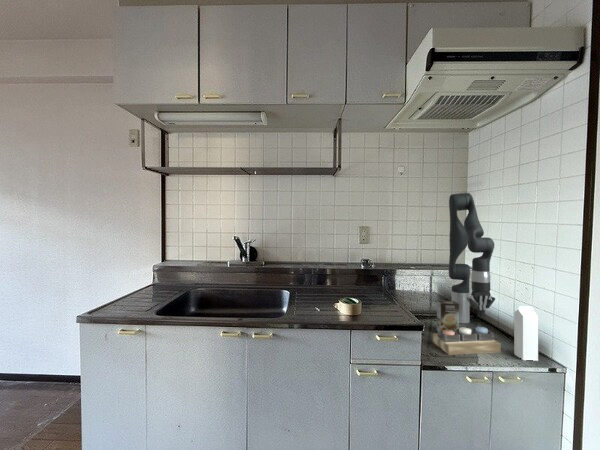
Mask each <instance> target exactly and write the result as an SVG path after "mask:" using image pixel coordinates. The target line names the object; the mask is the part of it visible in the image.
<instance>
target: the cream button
mask: <svg viewBox="0 0 600 450" xmlns="http://www.w3.org/2000/svg"><path fill="white" fill-rule="evenodd" d="M471 329H472V328H469V327H465V326H464V327H463V326H462V327H460V326H459V332H460V333H461V334H463V335H466V334H471Z"/></svg>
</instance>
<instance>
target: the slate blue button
mask: <svg viewBox="0 0 600 450" xmlns="http://www.w3.org/2000/svg"><path fill="white" fill-rule="evenodd" d="M474 329H475V331H476V332H477V333H479V334H488V331H489V330H488V328H487V327H483V326H475V327H474Z"/></svg>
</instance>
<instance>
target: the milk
mask: <svg viewBox="0 0 600 450" xmlns="http://www.w3.org/2000/svg"><path fill="white" fill-rule="evenodd" d="M513 314H514V315H513V316H514V317H513V318H514V321H513V323H514V324H513V326H514V329H513V332H514V341H513V343H514V345H513V346H514V347H513V349H514V351H513V352H514V353H513V354H514V356H515V357H518V358H519V359H520V358H521V359H520V360H521V361H526V360H533V361H534V362H535V361H536V362H539V316H538V314H537V313H536V312H535V310H534V306H530V305H529V306H527V305H526V306H525V305H523V306H522V305H519V306H518V309H517V310H514V312H513ZM533 361H532V362H533Z"/></svg>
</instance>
